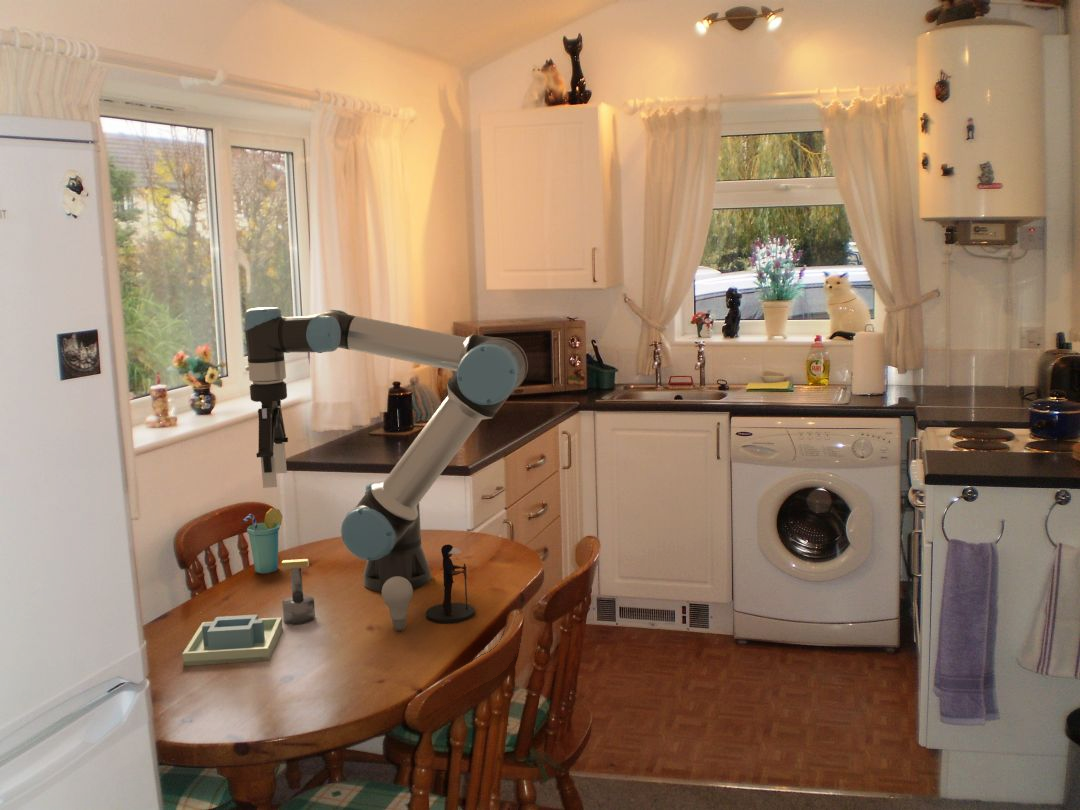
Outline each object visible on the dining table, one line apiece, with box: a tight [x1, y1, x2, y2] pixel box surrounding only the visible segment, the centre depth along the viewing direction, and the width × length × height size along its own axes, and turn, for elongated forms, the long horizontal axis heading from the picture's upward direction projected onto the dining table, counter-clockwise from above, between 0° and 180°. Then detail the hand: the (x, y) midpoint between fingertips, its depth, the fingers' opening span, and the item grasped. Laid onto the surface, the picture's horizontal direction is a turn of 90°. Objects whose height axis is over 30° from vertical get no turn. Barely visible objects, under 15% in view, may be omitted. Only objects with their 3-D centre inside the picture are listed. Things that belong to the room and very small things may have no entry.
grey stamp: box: [281, 558, 316, 626], centre depth 225 cm, size 6×6×12 cm
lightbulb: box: [381, 576, 414, 631], centre depth 217 cm, size 6×6×11 cm
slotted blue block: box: [202, 613, 265, 650], centre depth 212 cm, size 11×8×4 cm
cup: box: [241, 508, 283, 574], centre depth 259 cm, size 14×8×15 cm, turn 162°
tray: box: [181, 616, 283, 667], centre depth 212 cm, size 16×17×2 cm
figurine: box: [425, 544, 476, 625], centre depth 224 cm, size 10×10×15 cm
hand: (275, 479), depth 235 cm, fingers open, 13 cm apart
